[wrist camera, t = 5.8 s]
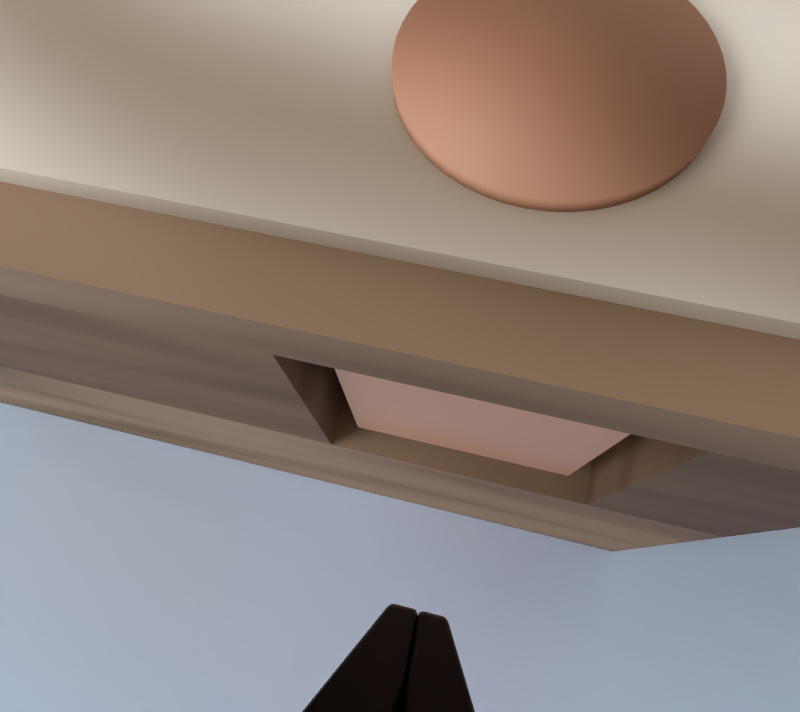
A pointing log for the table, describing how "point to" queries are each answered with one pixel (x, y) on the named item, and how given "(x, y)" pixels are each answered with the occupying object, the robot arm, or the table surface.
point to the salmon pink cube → (474, 425)
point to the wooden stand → (418, 241)
